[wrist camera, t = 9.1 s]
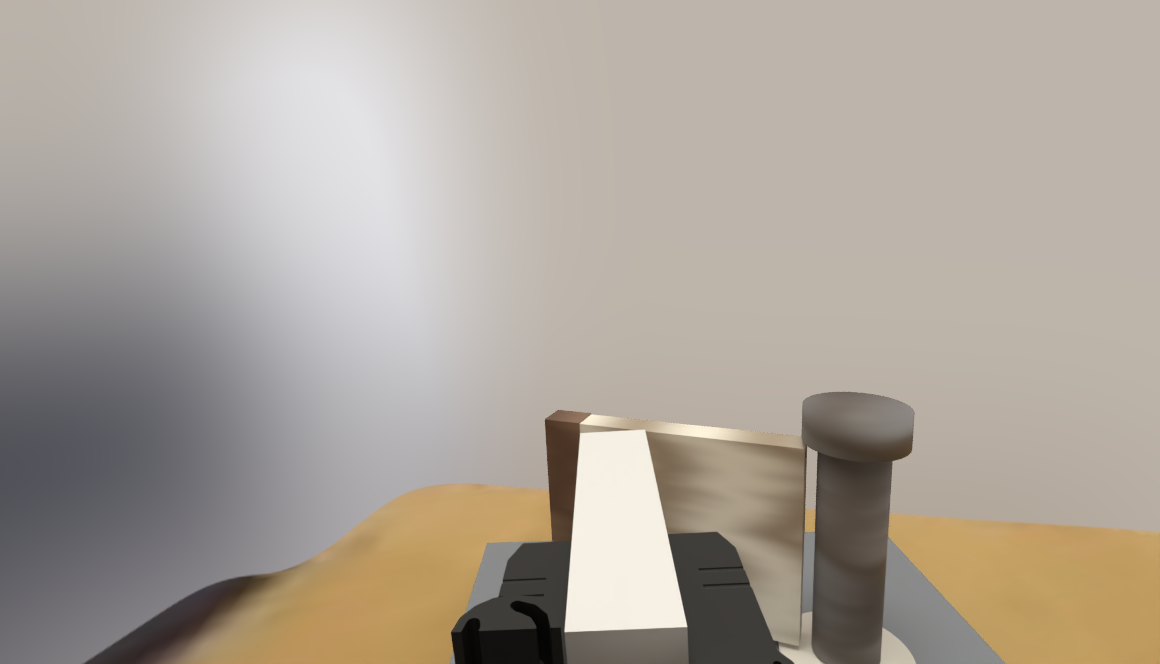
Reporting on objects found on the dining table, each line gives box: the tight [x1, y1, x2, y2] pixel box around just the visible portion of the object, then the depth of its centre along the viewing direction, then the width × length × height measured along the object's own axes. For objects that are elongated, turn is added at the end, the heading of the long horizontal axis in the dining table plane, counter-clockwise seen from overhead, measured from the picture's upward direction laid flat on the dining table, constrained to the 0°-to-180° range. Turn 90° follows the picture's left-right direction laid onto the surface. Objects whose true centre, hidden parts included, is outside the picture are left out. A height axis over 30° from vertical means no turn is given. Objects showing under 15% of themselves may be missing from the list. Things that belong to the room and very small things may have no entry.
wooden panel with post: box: [545, 392, 914, 664], centre depth 29 cm, size 17×4×12 cm, turn 66°
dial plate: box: [450, 532, 1005, 664], centre depth 29 cm, size 26×21×2 cm
